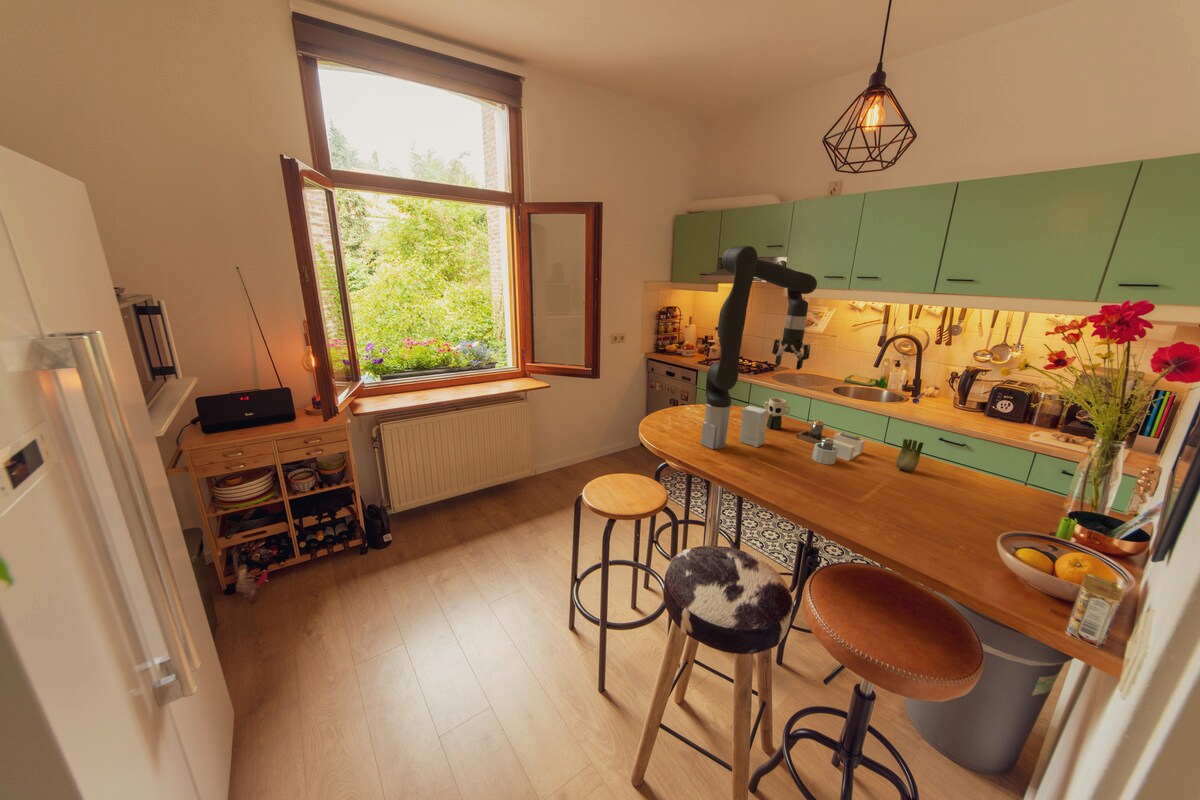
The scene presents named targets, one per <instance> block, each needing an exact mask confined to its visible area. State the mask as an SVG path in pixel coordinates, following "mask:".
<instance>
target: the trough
mask: <svg viewBox="0 0 1200 800" xmlns="http://www.w3.org/2000/svg"><path fill="white" fill-rule="evenodd" d="M810 434H811V430H807V429H805V430H803V431H800V432H798V433H797V434H796V439H799V440H802V441H805V442H808V443H810V444H814V445H815V444H816V443H821V440H822V438H831V439H833V438H832V437H829V436H825V435H823V434H822V435H821V440H820V441H819V440H816V439H813V438H810Z"/></svg>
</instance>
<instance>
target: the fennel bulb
mask: <svg viewBox="0 0 1200 800" xmlns="http://www.w3.org/2000/svg"><path fill="white" fill-rule="evenodd" d="M917 444H918V445H917ZM924 444H925V443H924V442H923V441H919V442H918V440H917V439H912V438H910V439H909V438H903V441H902V447H901V449H900V451H899V453H898V456H897V457H896V462H895V463H896V464H895V465H896V467H897V468H898V469H899V470H900V471H904V472H908V473H909V472H910V473H911V472H914V471H915V470H916V468H917V467H918V465H919V462H920V457H921V454H922V449H923V446H924Z"/></svg>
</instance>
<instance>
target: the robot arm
mask: <svg viewBox="0 0 1200 800" xmlns="http://www.w3.org/2000/svg"><path fill="white" fill-rule="evenodd" d="M721 264H722V266H723V268H724V269H725V271H727V272H729V273H731V274H734V277H733V284H732V287H731V290H730V292H729V293H728V296H727V298H725V300H724V302H723V304H722V306H721V308H720V311H719V316H718V321H717V322H718V323H717V335H718V340H719V348H720V357H719V361H717V362H716V361H715V362H714V363H712V364H711V365H710V366H709V368H708V369H707V374H706V380H705V381H706V382H705V383H706V384H705V396H706V397H705V398H706V403H705V404H706V405H705V410H704V422H703V423H702V428H701V438H700V445H701V446H704V447H706V448H709V449H711V450H716V449H717V450H718V449H724V448H725V447H726V445H727V437H728V430H729V429H728V428H729V421H730V413H731V404H732V397H731V394H730V392H729V391H730V390H732V388H734V387H735V386H736V384H737V382H738V380H739V368H740V355H741V346H742V341H743V333H744V331H745V330H744V328H745V325H746V318H747V309H748V306H749V305H748V304H749V298H750V294H751V288H752V284H753V281H754V278H757V279H760V280H763V281H765V282H768V283H770V284H772V285H775V286H778V287H781V288H785V289H786V290H787V301H788V306H787V312H786V313H787V314H786V318H785V321H784V327H783V333H782V334H783V335H782V340H781V339H780V338H777V339H775V340H774V342H773V347H772V351H771V353H772V354H773V355H775V366H781V364H782V357H783V356H782V355H783V354H785V352H786V353H790V354H794V356H795V357H796V359H797V361H796V367H795V370H798V371H799V370H801V369H802V368H803V363H804V361H806V360H809V358H810V354H811V353H810V352H811V344H809V343H808V344H806V343H805V344H804V343H803V341H804V337H805V330H806V324H807V315H808V309H809V302H808V301H807V300H805V299H803V295H809V294H811V293H813V292H814V291H815V290H816V289H817V286H818V281H817V278H816V277H815V276H814V275H812V274H810V273H805V272H802V271H797V270H794V269H792V268H790V267H787V266H786V265H782V264H779V263H775V262H771V261H767V260H762V259H759V258H758V252H757V250H756V248H755V247H753V246H752V245H735V246H731V247H729V248H728V249H726V250H725V251H724V252H723V255H722V257H721ZM780 345H781V346H782V347H781V348H780ZM779 348H780V349H779ZM802 349H803V352H802Z"/></svg>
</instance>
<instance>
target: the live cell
mask: <svg viewBox="0 0 1200 800" xmlns="http://www.w3.org/2000/svg"><path fill="white" fill-rule="evenodd" d="M824 426H825V425H824V421H821V420H813V421H812V425H811V430H810V432H811V434H810V438H813V439H816V440H819V441H820V440H821V435H823V429H824Z"/></svg>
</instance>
